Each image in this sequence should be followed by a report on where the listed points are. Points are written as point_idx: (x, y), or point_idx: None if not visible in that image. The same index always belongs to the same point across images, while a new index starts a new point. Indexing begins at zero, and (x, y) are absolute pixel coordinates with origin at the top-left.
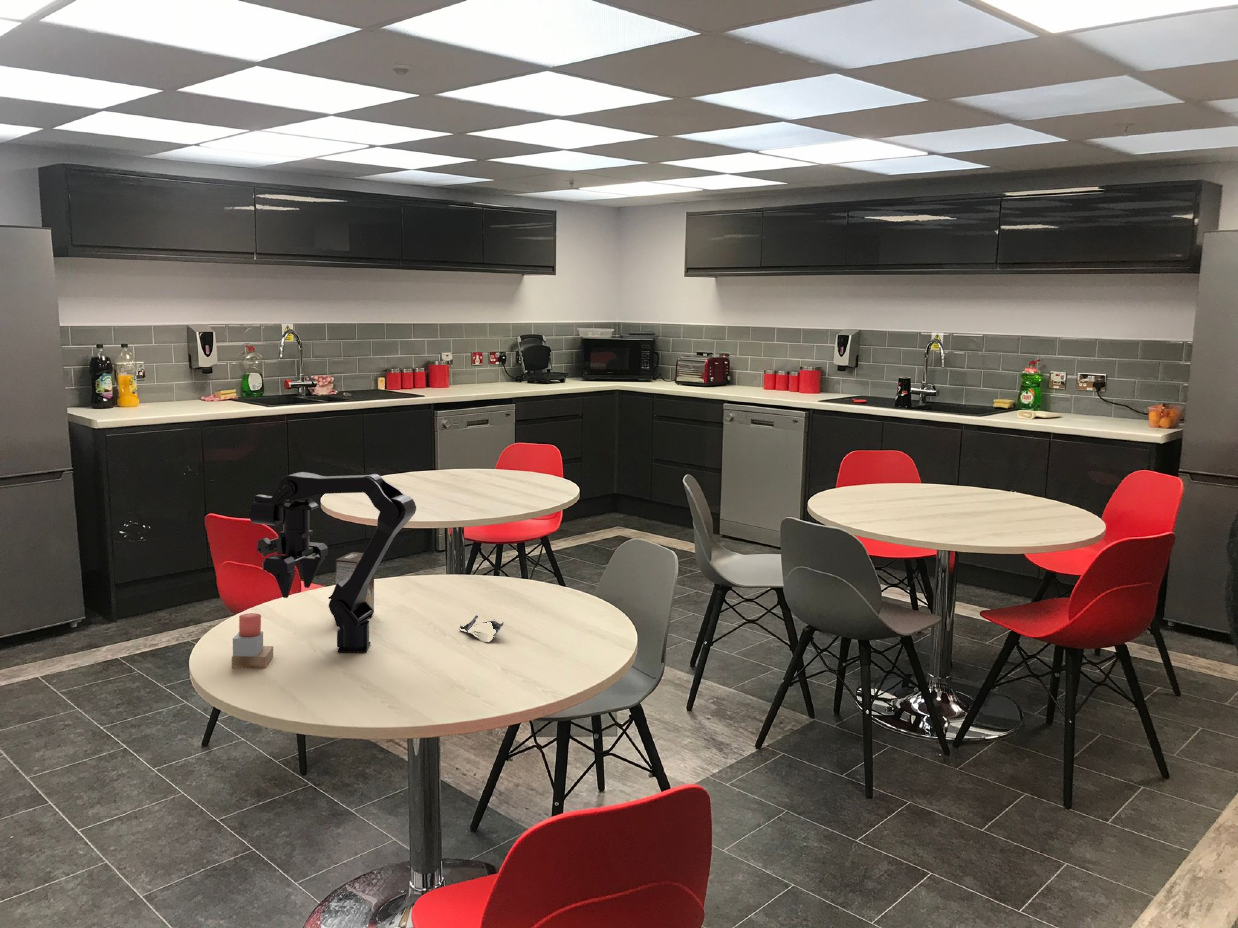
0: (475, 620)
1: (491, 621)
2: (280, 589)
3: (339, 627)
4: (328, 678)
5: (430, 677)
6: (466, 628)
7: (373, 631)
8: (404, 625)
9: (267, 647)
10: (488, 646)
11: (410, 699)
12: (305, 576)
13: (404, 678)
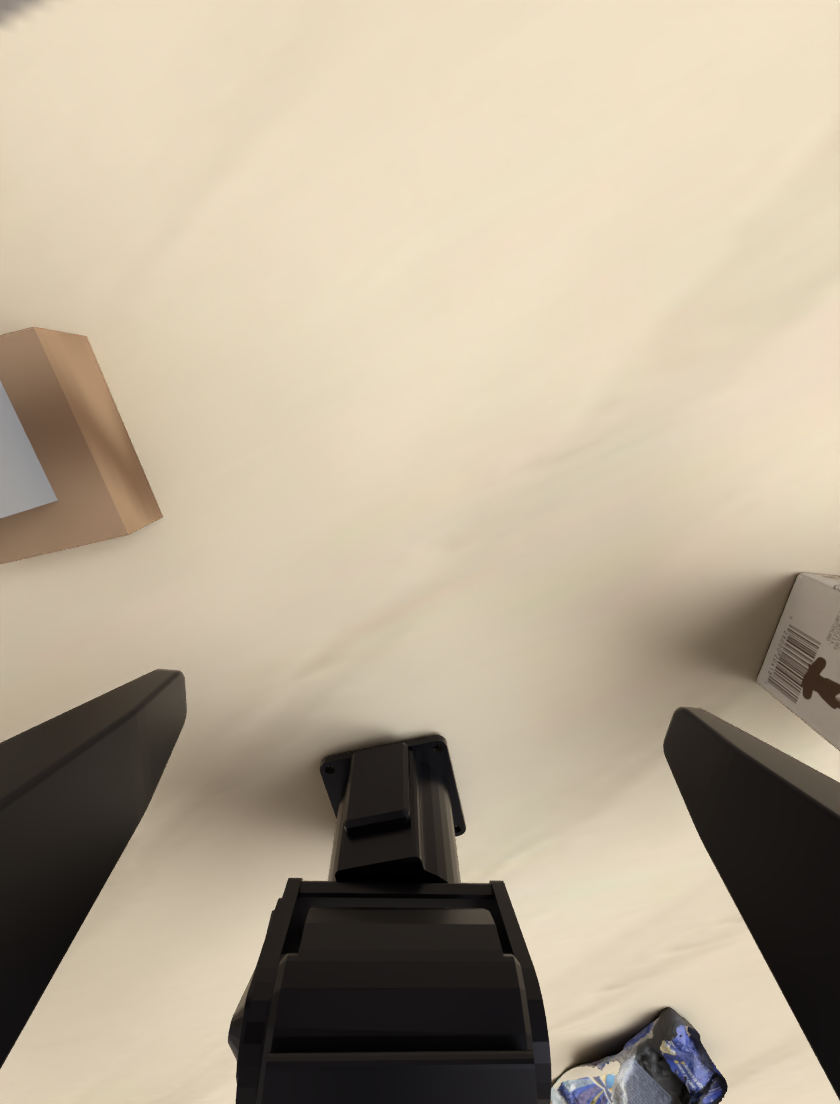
0: (681, 1100)
1: (724, 1090)
2: (33, 736)
3: (389, 819)
4: None
5: (197, 1052)
6: (651, 1048)
7: (631, 780)
8: None
9: (90, 514)
10: None
11: None
12: (800, 841)
13: (156, 1006)
